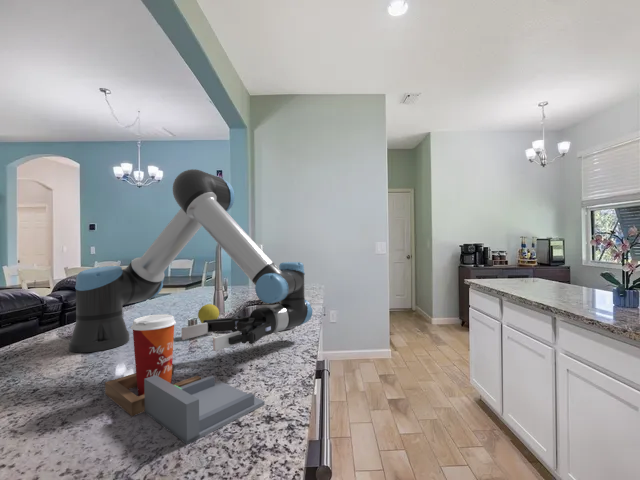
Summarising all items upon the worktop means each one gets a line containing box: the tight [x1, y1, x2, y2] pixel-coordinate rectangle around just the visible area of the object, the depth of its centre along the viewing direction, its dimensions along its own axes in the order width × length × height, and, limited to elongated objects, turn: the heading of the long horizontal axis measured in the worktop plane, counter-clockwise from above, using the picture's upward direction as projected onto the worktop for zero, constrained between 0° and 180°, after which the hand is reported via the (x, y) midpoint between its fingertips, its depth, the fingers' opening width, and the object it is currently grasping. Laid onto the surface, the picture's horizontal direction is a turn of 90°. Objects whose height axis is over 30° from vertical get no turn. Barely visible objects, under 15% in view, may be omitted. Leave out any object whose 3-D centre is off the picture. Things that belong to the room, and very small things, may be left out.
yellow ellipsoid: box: [197, 303, 220, 336], centre depth 106 cm, size 7×7×10 cm
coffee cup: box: [130, 313, 177, 396], centre depth 65 cm, size 8×8×15 cm
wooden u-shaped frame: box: [104, 363, 202, 417], centre depth 65 cm, size 13×14×2 cm
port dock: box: [144, 375, 266, 446], centre depth 58 cm, size 15×15×6 cm
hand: (197, 338), depth 73 cm, fingers open, 13 cm apart
